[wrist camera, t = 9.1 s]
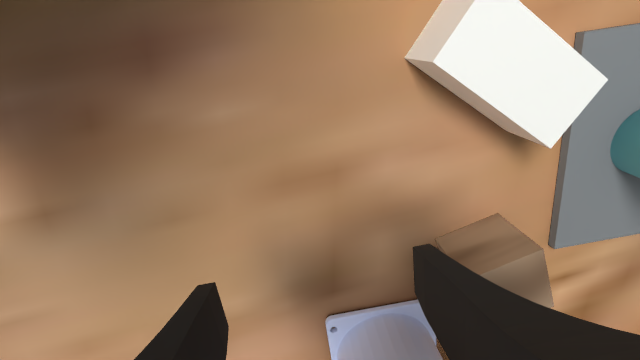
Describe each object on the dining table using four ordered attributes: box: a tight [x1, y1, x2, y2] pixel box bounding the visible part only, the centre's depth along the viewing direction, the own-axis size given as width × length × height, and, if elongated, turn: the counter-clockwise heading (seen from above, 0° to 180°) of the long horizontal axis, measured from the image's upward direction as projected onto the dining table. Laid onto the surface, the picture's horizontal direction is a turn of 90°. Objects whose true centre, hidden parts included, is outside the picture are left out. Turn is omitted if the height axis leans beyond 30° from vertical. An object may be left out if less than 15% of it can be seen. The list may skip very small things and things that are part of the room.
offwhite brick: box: [405, 0, 608, 149], centre depth 18 cm, size 8×4×4 cm, turn 58°
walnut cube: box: [435, 213, 554, 308], centre depth 23 cm, size 4×4×4 cm
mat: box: [548, 23, 640, 249], centre depth 22 cm, size 14×10×1 cm
